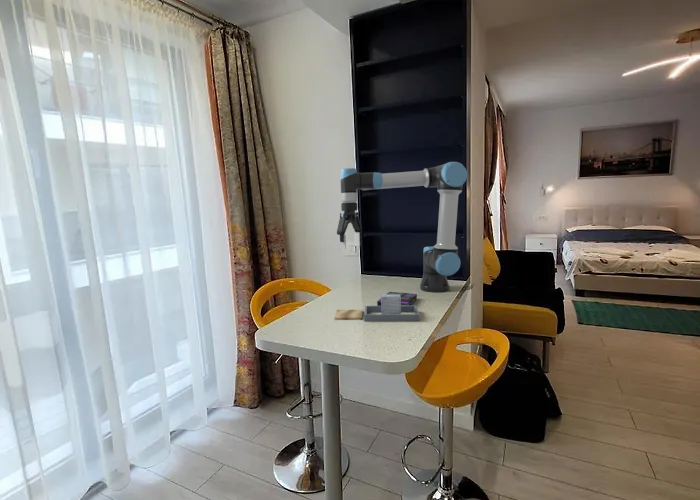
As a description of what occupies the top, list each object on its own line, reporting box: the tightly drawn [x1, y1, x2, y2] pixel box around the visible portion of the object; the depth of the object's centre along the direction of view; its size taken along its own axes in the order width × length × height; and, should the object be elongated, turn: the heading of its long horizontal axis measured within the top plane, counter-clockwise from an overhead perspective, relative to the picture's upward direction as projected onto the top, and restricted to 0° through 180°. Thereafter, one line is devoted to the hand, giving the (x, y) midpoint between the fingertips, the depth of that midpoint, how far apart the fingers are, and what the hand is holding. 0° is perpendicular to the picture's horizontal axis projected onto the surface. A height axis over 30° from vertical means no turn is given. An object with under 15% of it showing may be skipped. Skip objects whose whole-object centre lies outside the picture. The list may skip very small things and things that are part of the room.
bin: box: [363, 305, 420, 322], centre depth 150 cm, size 22×13×2 cm, turn 86°
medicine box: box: [380, 294, 402, 314], centre depth 150 cm, size 8×4×9 cm, turn 84°
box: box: [376, 291, 418, 306], centre depth 170 cm, size 14×4×20 cm
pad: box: [334, 309, 364, 321], centre depth 152 cm, size 11×11×1 cm
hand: (350, 247), depth 173 cm, fingers open, 13 cm apart
